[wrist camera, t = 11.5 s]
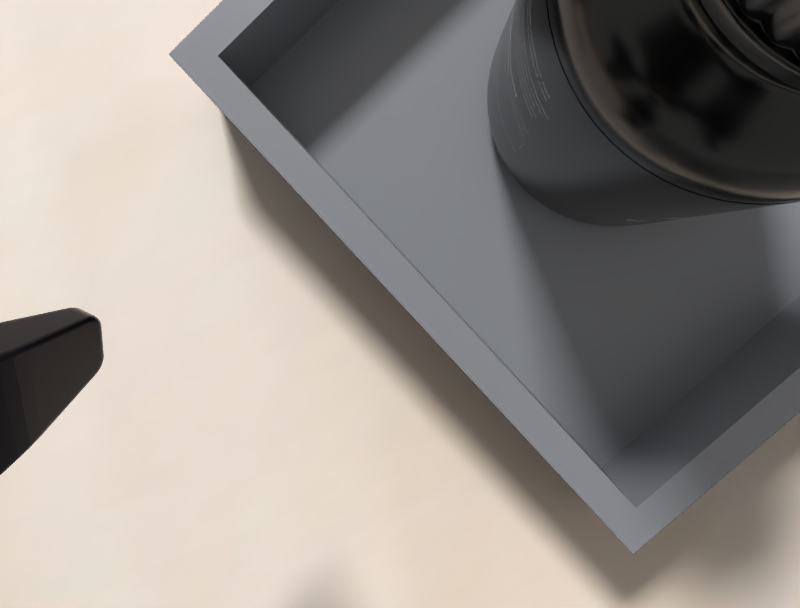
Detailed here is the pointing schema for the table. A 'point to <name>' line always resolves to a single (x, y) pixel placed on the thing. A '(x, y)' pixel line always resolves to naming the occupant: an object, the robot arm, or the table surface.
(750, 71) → the supplement bottle
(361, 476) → the table surface
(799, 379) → the bin
